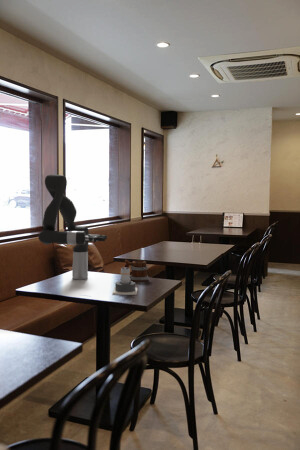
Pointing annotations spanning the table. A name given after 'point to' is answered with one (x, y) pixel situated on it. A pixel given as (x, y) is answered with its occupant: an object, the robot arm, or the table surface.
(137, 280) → the mug
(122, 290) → the grey ring on base
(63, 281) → the table surface
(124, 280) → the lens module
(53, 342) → the table surface
